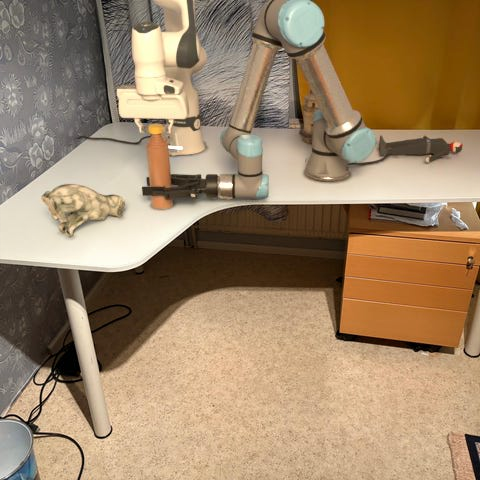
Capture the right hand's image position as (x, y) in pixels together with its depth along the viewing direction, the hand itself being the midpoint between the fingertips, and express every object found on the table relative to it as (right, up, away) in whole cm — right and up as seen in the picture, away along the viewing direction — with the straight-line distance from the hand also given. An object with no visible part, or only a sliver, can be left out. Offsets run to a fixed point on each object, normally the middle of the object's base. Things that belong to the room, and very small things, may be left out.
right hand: (144, 186), depth 166 cm
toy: (+98, +16, +38) cm, 106 cm away
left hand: (+5, +15, -9) cm, 18 cm away
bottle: (+5, -6, +3) cm, 8 cm away
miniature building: (+61, +24, +54) cm, 85 cm away
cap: (+5, +16, -9) cm, 20 cm away
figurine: (-15, -13, -9) cm, 22 cm away
